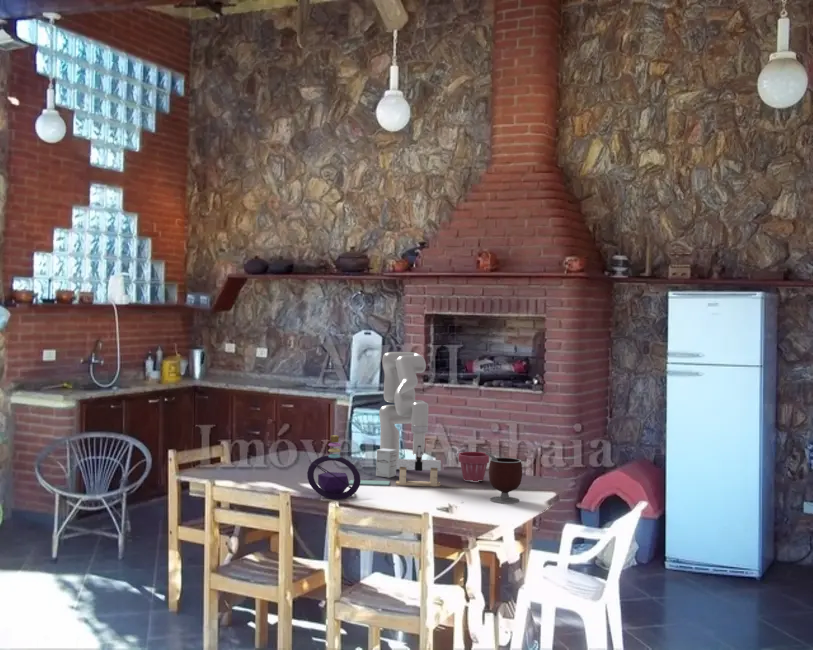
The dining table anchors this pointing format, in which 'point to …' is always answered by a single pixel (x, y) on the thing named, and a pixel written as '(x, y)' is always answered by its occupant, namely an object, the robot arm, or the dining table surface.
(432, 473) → the rack
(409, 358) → the robot arm
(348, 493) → the decorative bottle
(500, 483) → the mate gourd
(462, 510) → the dining table surface
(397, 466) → the block
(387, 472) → the supplement box
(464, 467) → the plant pot
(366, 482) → the mat
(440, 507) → the dining table surface
